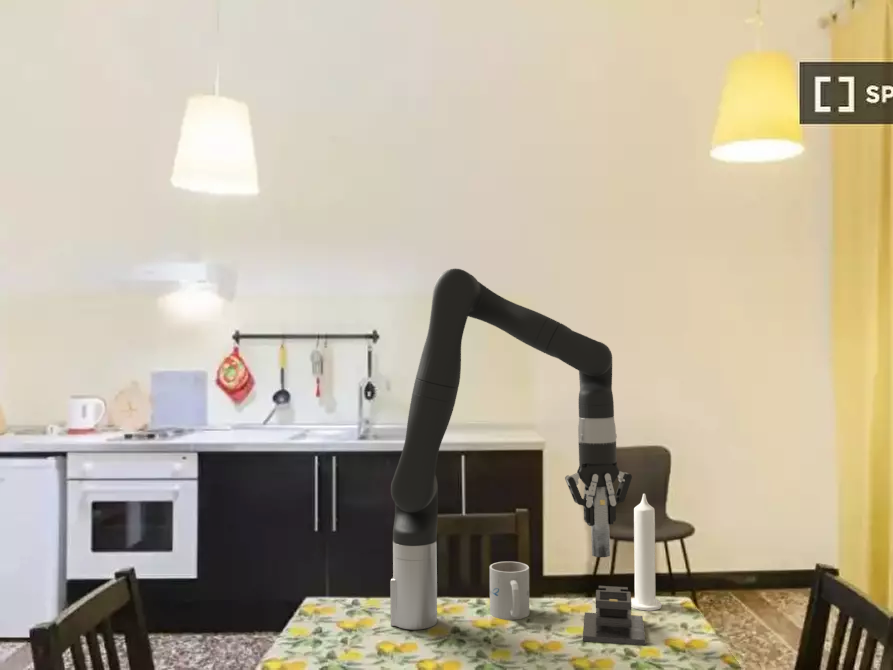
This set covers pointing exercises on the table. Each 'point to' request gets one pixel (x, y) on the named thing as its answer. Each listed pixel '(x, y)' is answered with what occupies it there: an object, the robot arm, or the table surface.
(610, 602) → the bracket
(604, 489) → the tube
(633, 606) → the candle
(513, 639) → the table surface
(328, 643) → the table surface
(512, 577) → the mug
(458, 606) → the table surface
